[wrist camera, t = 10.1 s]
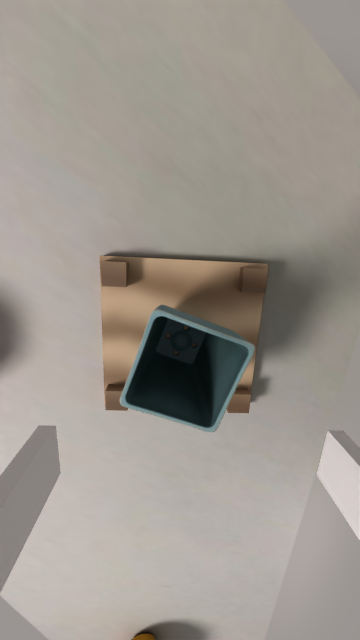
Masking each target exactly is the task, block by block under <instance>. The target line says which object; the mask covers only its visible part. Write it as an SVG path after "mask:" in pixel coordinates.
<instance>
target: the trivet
mask: <svg viewBox="0 0 360 640" xmlns="http://www.w3.org/2000/svg"><path fill="white" fill-rule="evenodd" d="M267 276H268V264H263V263H243V262H222V261H202V260H181V259H161V258H141V257H120V256H100V277H101V306H102V335H103V364H104V393H105V406H106V410H128V408H127V407H124V406H122V405H121V404H120V396H121V394H122V391H123V389H124V386H125V383H126V381H127V378H128V375H129V373H130V370H131V367H132V365H133V362H134V360H135V357H136V354H137V351H138V349H139V346H140V343H141V340H142V337H143V334H144V332H145V329H146V326H147V323H148V320H149V317H150V315H151V313H152V311H153V310H155V309H156V308H157V307H158V306H160V305H166V306H169V307H171V308H174V309H176V310H179V311H182V312H185V313H187V314H190V315H193V316H195V317H198V318H201V319H203V320H206V321H209V322H212V323H214V324H217V325H220V326H223V327H225V328H228V329H230V330H232V331H234V332H236V333H237V334H239V335H240V336H242V337H243V338H245V339H246V340H248V341H249V342H250V343H252V344H253V345H254V346H255V351H254V354H253V356H252V358H251V360H250V362H249V364H248V366H247V368H246V370H245V372H244V374H243V376H242V378H241V380H240V382H239V384H238V386H237V388H236V390H235V392H234V394H233V396H232V398H231V400H230V403H229V405H228V407H227V411H228V413H249V407H250V400H251V387H252V380H253V372H254V365H255V358H256V350H257V343H258V336H259V328H260V321H261V314H262V306H263V299H264V293H265V290H266V283H267ZM184 329H185V330H187V329H188V326H184ZM166 337H167V338H169V337H170V334H166ZM195 346H196V343H193V344H192V347H195ZM174 354H176V355H177V354H178V351H174Z"/></svg>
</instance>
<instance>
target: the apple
mask: <svg viewBox="0 0 360 640" xmlns="http://www.w3.org/2000/svg"><path fill="white" fill-rule="evenodd" d="M132 640H156V639H155V637H154V636H153V635H152V634H149V633H147V634H140V635H137V636H136V637H134V638H133V639H132Z"/></svg>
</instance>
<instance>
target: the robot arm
mask: <svg viewBox="0 0 360 640" xmlns="http://www.w3.org/2000/svg"><path fill="white" fill-rule="evenodd" d="M59 475H60V463H59V453H58V443H57V434H56V426H38V427H37V429H36V430H35V431H34V433H33V434H32V435H31V437H30V438H29V439H28V440H27V442H26V443H25V444H24V446H23V447H22V448H21V450H20V451H19V452H18V454H17V455H16V456H15V457H14V459H13V460H12V461H11V463H10V464H9V465H8V467H7V468H6V469H5V471H4V472H3V473H2V474H1V476H0V592H1V590H2V588H3V586H4V584H5V582H6V580H7V578H8V576H9V574H10V572H11V570H12V568H13V566H14V564H15V562H16V560H17V558H18V556H19V554H20V552H21V550H22V548H23V546H24V544H25V542H26V540H27V538H28V536H29V535H30V533H31V531H32V529H33V527H34V525H35V523H36V521H37V519H38V517H39V515H40V513H41V511H42V509H43V507H44V505H45V503H46V501H47V499H48V497H49V495H50V493H51V491H52V489H53V487H54V485H55V483H56V481H57V479H58V477H59ZM317 476H318V477H319V479H320V480H321V482H322V483H323V485H324V486H325V488H326V490H327V491H328V492H329V494H330V496H331V497H332V499H333V500H334V502H335V503H336V505H337V506H338V508H339V509H340V511H341V512H342V514H343V515H344V517H345V519H346V520H347V522H348V523H349V525H350V526H351V528H352V529H353V531H354V532H355V534H356V535H357V537H358V538H359V540H360V448H359V447H358V446H357V445H356V444H355V443H354V442H353V441H352V440H351V438H350V437H349V436H348V435H347V434H346V433H345V432H344V431H332V430H328V432H327V436H326V440H325V444H324V448H323V452H322V457H321V461H320V465H319V469H318V473H317Z"/></svg>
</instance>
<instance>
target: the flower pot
mask: <svg viewBox="0 0 360 640" xmlns="http://www.w3.org/2000/svg"><path fill="white" fill-rule="evenodd" d="M184 326H188V329H187V330H185V329H184ZM166 334H170V337H169V338H167V337H166ZM193 343H196V346H195V347H192V344H193ZM174 351H178V354H177V355H176V354H174ZM254 351H255V346H254V345H253V344H252V343H250V342H249V341H248V340H246V339H245V338H243V337H242V336H240V335H239V334H237V333H236V332H234V331H232V330H230V329H228V328H225V327H223V326H220V325H217V324H214V323H212V322H209V321H206V320H203V319H201V318H198V317H195V316H193V315H190V314H187V313H185V312H182V311H179V310H176V309H174V308H171V307H169V306H166V305H160V306H158V307H157V308H156V309H155V310H153V311H152V313H151V315H150V317H149V320H148V323H147V326H146V329H145V332H144V334H143V337H142V340H141V343H140V346H139V349H138V351H137V354H136V357H135V360H134V362H133V365H132V367H131V370H130V373H129V375H128V378H127V381H126V383H125V386H124V389H123V391H122V394H121V396H120V404H121V405H122V406H124V407H127V408H129V409H133V410H136V411H140V412H143V413H147V414H150V415H154V416H157V417H161V418H164V419H167V420H171V421H174V422H177V423H181V424H184V425H187V426H191V427H194V428H197V429H199V430H202V431H206V432H215V431H216V430H217V428H218V426H219V424H220V422H221V420H222V417H223V416H224V413H225V411H226V409H227V407H228V405H229V403H230V400H231V398H232V396H233V394H234V392H235V390H236V388H237V386H238V384H239V382H240V380H241V378H242V376H243V374H244V372H245V370H246V368H247V366H248V364H249V362H250V360H251V358H252V356H253V354H254Z"/></svg>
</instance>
